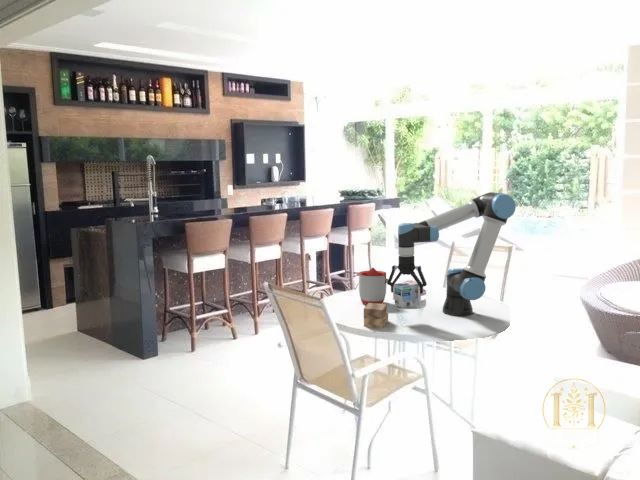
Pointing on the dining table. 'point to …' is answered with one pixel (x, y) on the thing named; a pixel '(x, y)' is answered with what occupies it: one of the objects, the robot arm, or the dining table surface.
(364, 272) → the citrus juicer
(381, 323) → the tower base
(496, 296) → the dining table surface
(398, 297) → the light bulb box
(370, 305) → the tower top
